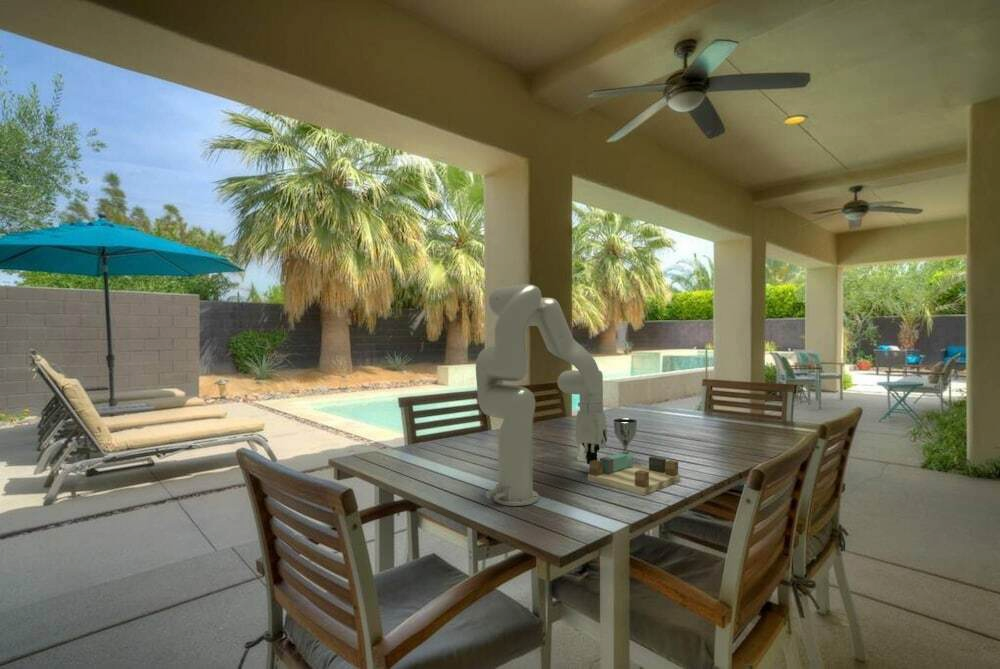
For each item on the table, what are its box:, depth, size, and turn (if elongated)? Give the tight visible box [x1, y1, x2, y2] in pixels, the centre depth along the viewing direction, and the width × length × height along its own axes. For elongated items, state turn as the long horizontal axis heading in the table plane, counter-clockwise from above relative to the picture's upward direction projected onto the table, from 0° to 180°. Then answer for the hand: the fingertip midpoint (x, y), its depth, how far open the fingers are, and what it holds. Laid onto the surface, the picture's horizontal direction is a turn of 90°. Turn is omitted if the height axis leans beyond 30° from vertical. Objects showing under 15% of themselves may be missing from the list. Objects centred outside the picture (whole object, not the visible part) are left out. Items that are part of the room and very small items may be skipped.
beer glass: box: [574, 424, 587, 463], centre depth 185 cm, size 7×7×15 cm
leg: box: [599, 450, 634, 473], centre depth 164 cm, size 14×4×5 cm, turn 132°
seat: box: [587, 456, 681, 496], centre depth 158 cm, size 20×20×6 cm
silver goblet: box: [613, 418, 638, 465], centre depth 179 cm, size 8×8×15 cm
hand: (592, 463), depth 166 cm, fingers closed
